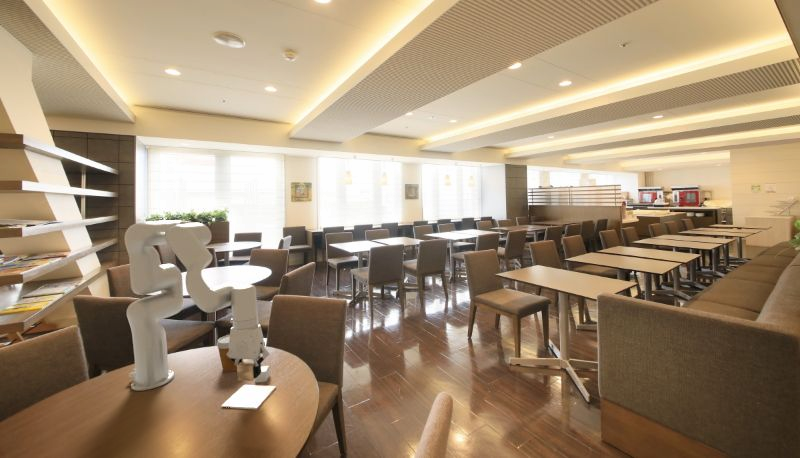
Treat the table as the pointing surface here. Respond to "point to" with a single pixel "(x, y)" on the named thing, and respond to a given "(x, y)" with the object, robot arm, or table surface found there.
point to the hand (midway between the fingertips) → (249, 375)
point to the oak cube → (245, 370)
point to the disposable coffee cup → (223, 349)
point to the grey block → (263, 374)
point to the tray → (249, 397)
